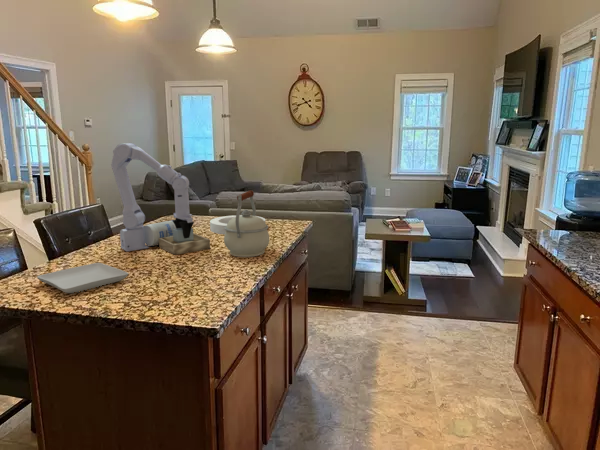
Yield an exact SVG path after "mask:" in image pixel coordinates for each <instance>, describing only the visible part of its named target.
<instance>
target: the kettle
mask: <svg viewBox="0 0 600 450" xmlns="http://www.w3.org/2000/svg"><path fill="white" fill-rule="evenodd" d="M254 195H255V193H254V191H253V190H248V191H245V192H243V193H240V194H238V195H237V196H236V200H237V209H236V217H235V218H233V219H231V220H230V221H229V222H228V224H227V226H225V230H226V232H225V234H224V235H223V236H224V237H223V243H224V246H225V247H226V248H227V250H229V254H230V255H231V256H234V257H239V258H252V257H259V256H261V255H263V254H264V253H265V249H266V248H267V247H268V246H269V243H270V234H269V230H268V229H269V225H268V224H267V223H266V220H265V221H264V220H263V219H261V218H259V217H260V216H259V217H256V216H257V212H256V210H257V209H256V205H255V202H254ZM247 199H249V202H250V205H251V208H252V209H251V211H252V213H251V211H250V210H248V209H245V210H243V211H242V212H241V209H242V203H243V201H245V200H247ZM240 215H242V216H240ZM250 215H251V216H250Z"/></svg>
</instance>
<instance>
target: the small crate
mask: <svg viewBox="0 0 600 450" xmlns="http://www.w3.org/2000/svg"><path fill="white" fill-rule="evenodd" d="M193 233H194V228H193V227H192V228H191V232H190V237H189V238H184V236H183V230H182V228H177V229H173V241H175V242H178V243H180V242H186V241H192V240H194V236H193Z"/></svg>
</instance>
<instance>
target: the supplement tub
mask: <svg viewBox="0 0 600 450" xmlns="http://www.w3.org/2000/svg"><path fill="white" fill-rule="evenodd" d="M173 220H174V219H172V220H166V221H160V222H155V223H150V224H145V225H144V236H145V245H146V246H148V247H154V246H159V238H163V237H170V236H173V229H176V226H175V224H174V223H173Z"/></svg>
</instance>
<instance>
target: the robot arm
mask: <svg viewBox="0 0 600 450" xmlns="http://www.w3.org/2000/svg"><path fill="white" fill-rule="evenodd" d="M112 153H113V156H112V160H111V164H110V165H111V169H112V173H113V177H114V179H115V183H116V185H117V190H118V192H119V195H120V196H119V197H120V199H121V203H122V206H123V210H122V217H123V218H122V224H123V226H124V227H125V228H123V229H120V231H119V238H120V249H122V250H124V251H125V252H131V251H132V252H133V251H136V250H137V251H138V250H139V251H140V250H145V249H149V248H150V246H147V245H146V244H145V236H144V226H145V225H144V222H145V220H146V215H145V213H144V212H143V210H142V209H141V206H139V204H138V203H137V201H136V196H135V193H134V190H133V187H132V183H131V179H130V176H129V173H128V170H127V167H128V165H129V163H130V162H131V161H132V160H137V161H141V162H143V163H144V164H146V165H147V166H148V167H150V168H151V169H153V170H155V171H156V173H157V176H158V177H159V178H161V179H162V180H163V181H165V182H167V184H169V185H171V187H172V189H173V190H174V195H173V196H174V209H175V212H173V218H174V219H172V220H173V223H174V224H175V226H176V229H177V228H182V230H183V236H184V238H189V237H190V232H191V228H192V229H193V225H194V221H193V220H194V219H193V214H191V213H190V199H189V198H190V196H189V186H190V181H189V180H190V179H189V178H188V177H187V176H186V175H182V173H181V172H177V171H176V170H175V169H173V168H172V165H170V164H169V165H168V164H165V163H164V164H162V163H160V162H159V161H157V160H156V158H154V157H153V156H152V155H150V154H149V153H147V152H146V151H145V150H144V149H143V148H142V147H139V146H137V145H136V144H135V143H134V142H133V143H132V142H128V143H127V142H126V143H119V144H117V145H116V147H115V148H114V149H113V150H112Z"/></svg>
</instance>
